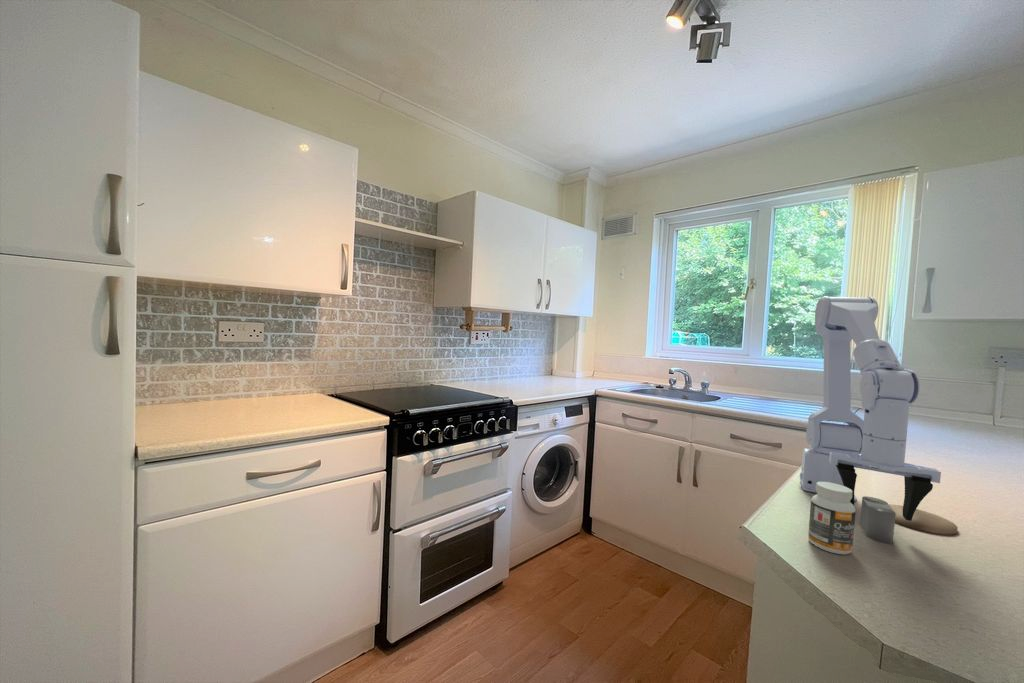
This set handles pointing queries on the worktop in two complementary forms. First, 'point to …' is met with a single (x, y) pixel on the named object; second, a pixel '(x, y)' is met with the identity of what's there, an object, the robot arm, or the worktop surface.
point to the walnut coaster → (925, 521)
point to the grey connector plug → (877, 519)
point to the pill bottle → (832, 518)
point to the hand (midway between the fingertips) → (877, 512)
